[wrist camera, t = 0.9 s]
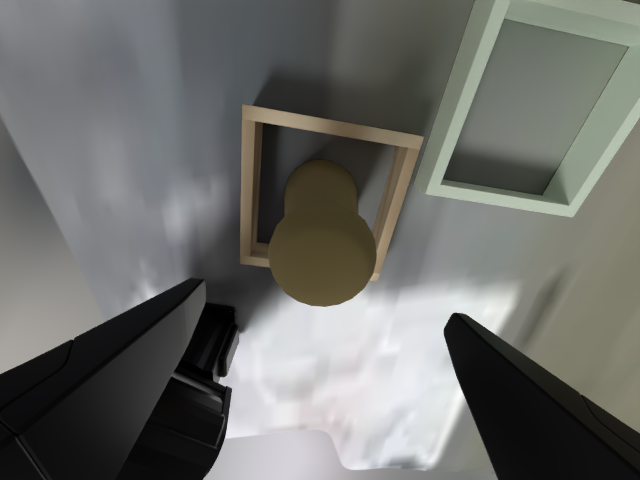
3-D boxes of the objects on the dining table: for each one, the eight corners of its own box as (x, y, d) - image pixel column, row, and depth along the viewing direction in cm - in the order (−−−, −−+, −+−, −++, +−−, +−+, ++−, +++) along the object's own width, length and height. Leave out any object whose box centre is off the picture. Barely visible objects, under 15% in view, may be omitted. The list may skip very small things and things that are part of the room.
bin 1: (247, 248, 22) (239, 263, 20) (252, 105, 17) (242, 104, 15) (371, 265, 23) (377, 281, 21) (411, 133, 18) (424, 136, 16)
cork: (279, 161, 19) (238, 212, 9) (357, 156, 19) (400, 203, 9) (288, 232, 22) (264, 329, 12) (357, 228, 22) (389, 323, 12)
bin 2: (413, 184, 20) (425, 193, 18) (477, -7, 15) (505, -28, 12) (545, 206, 21) (572, 217, 19) (649, 33, 16) (704, 20, 13)
